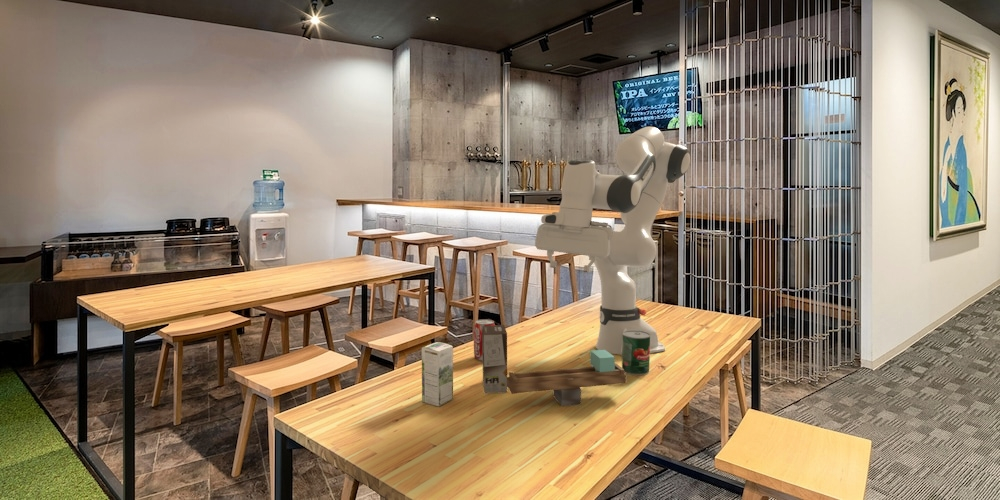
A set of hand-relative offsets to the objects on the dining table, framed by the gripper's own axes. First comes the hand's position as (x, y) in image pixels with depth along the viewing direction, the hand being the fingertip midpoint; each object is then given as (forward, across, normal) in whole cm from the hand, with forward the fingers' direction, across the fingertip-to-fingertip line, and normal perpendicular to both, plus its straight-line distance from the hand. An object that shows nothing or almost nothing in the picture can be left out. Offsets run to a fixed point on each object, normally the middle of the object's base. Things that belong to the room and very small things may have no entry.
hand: (569, 269), depth 146 cm
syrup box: (+35, +25, +24) cm, 49 cm away
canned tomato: (+29, -19, -16) cm, 38 cm away
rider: (+24, -13, +8) cm, 28 cm away
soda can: (+34, +26, -11) cm, 44 cm away
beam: (+31, -6, +13) cm, 34 cm away
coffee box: (+33, +15, +10) cm, 38 cm away
